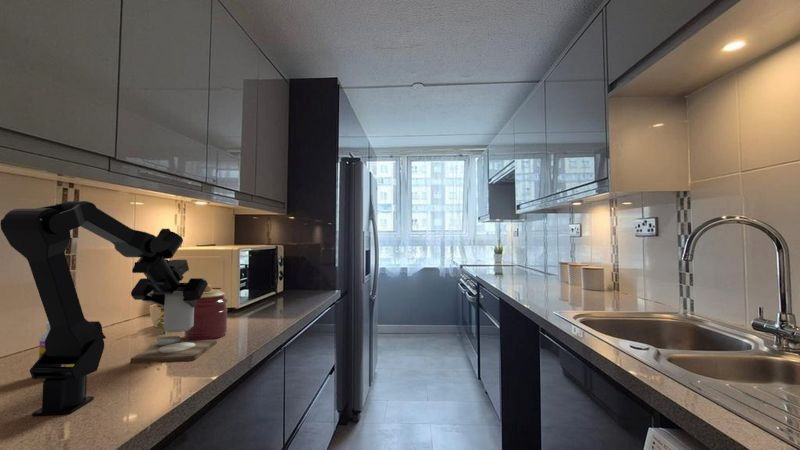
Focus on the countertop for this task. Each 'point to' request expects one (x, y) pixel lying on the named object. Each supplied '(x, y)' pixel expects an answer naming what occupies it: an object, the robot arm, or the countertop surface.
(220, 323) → the canister
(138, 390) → the countertop surface
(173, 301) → the can
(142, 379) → the countertop surface
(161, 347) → the board
